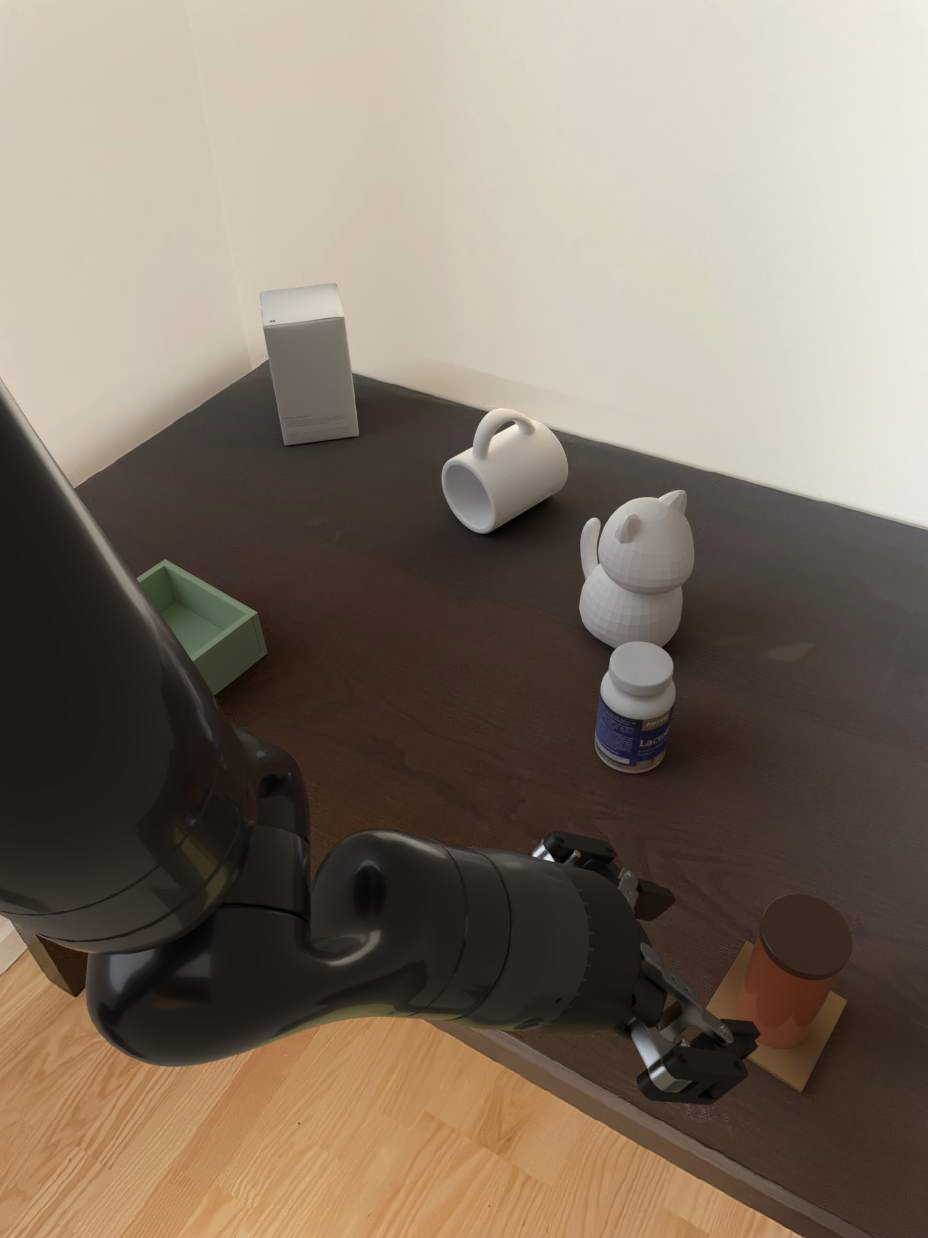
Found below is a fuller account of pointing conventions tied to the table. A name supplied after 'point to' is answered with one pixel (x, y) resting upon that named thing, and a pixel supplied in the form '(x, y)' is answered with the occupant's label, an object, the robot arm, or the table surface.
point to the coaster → (779, 1062)
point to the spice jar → (792, 968)
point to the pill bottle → (635, 708)
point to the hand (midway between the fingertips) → (701, 968)
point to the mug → (504, 471)
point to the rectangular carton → (310, 363)
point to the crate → (206, 623)
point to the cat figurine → (637, 571)
